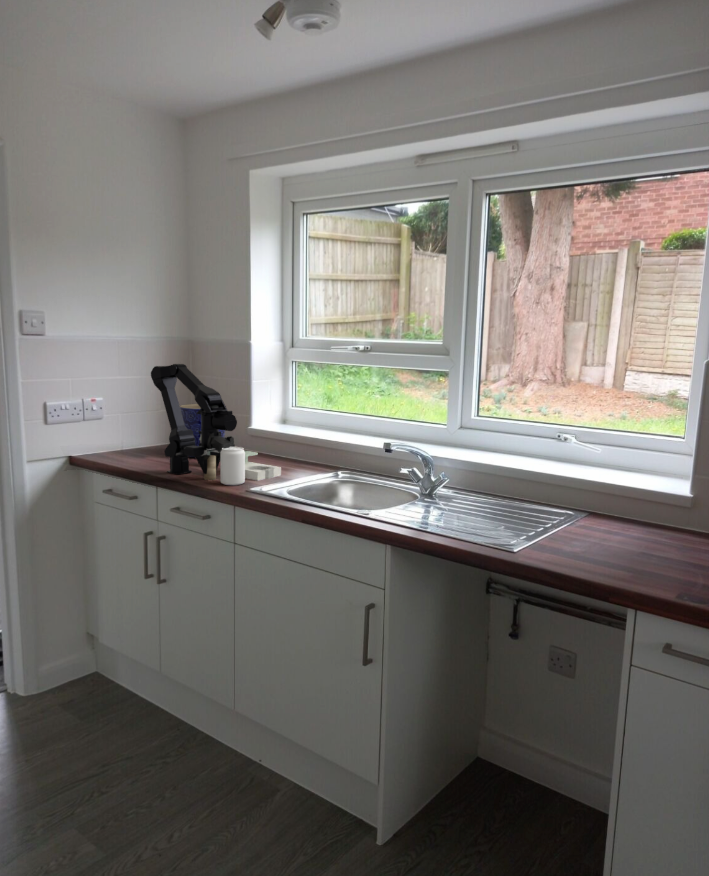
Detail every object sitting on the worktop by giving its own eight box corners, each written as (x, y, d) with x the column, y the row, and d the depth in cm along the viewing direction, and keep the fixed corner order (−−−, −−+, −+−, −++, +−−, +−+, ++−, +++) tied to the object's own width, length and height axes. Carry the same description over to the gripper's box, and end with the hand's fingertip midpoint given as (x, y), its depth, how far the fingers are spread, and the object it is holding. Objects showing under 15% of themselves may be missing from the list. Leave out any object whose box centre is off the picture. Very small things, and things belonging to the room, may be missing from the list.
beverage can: (239, 486, 225) (239, 450, 223) (216, 485, 227) (216, 449, 225) (248, 481, 233) (248, 447, 231) (226, 480, 235) (225, 445, 233)
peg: (201, 478, 236) (201, 456, 235) (210, 477, 239) (210, 454, 238) (209, 480, 233) (209, 457, 232) (218, 478, 237) (218, 456, 235)
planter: (174, 453, 284) (174, 404, 281) (218, 451, 292) (218, 403, 289) (185, 461, 268) (184, 409, 265) (230, 458, 276) (230, 407, 273)
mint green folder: (225, 472, 247) (225, 453, 246) (244, 468, 255) (244, 450, 254) (238, 475, 244) (238, 455, 243) (257, 471, 252) (257, 452, 251)
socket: (225, 474, 245) (225, 466, 244) (248, 469, 254) (248, 461, 254) (259, 480, 235) (259, 472, 235) (282, 475, 245) (282, 467, 244)
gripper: (205, 433, 221) (205, 480, 224) (246, 428, 237) (245, 472, 239) (182, 430, 228) (182, 475, 230) (223, 425, 243) (223, 468, 245)
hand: (209, 473), depth 236 cm, fingers closed on peg, 4 cm apart
